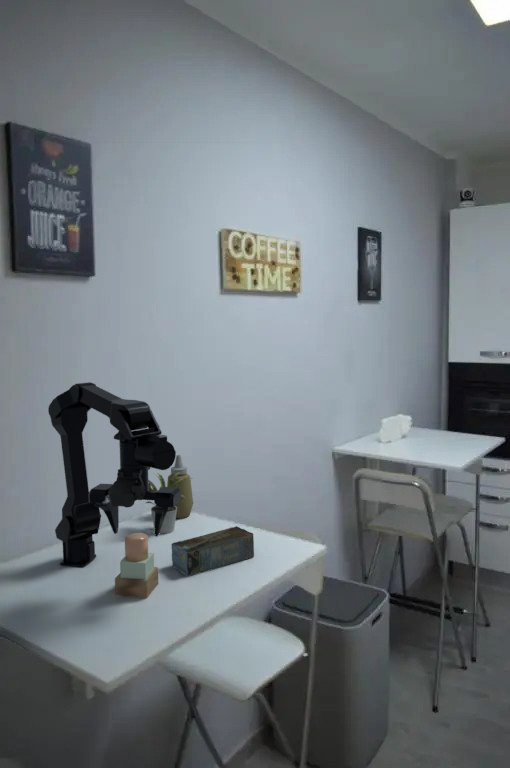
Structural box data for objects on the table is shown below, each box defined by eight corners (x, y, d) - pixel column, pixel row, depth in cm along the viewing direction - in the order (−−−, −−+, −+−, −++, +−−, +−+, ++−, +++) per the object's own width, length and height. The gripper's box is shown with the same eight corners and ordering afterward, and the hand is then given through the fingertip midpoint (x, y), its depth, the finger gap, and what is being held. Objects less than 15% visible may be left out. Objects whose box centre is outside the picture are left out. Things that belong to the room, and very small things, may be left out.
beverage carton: (170, 566, 145) (169, 539, 144) (237, 548, 156) (237, 523, 155) (187, 578, 138) (186, 549, 138) (256, 558, 150) (256, 532, 149)
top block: (120, 577, 129) (120, 561, 129) (129, 567, 135) (129, 551, 134) (145, 579, 129) (145, 563, 128) (154, 568, 134) (153, 553, 134)
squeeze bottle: (160, 515, 181) (158, 455, 179) (182, 509, 187) (181, 451, 185) (177, 522, 176) (175, 460, 174) (199, 515, 181) (198, 455, 179)
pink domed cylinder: (121, 560, 129) (120, 540, 129) (130, 552, 134) (130, 532, 134) (142, 562, 128) (142, 541, 128) (151, 554, 133) (151, 533, 133)
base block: (115, 596, 130) (114, 578, 129) (128, 582, 136) (127, 565, 136) (147, 599, 128) (146, 580, 128) (158, 584, 135) (158, 567, 135)
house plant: (196, 520, 177) (195, 464, 175) (194, 537, 163) (193, 477, 161) (145, 521, 176) (144, 465, 174) (139, 539, 162) (138, 478, 160)
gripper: (74, 469, 123) (77, 545, 125) (163, 473, 119) (165, 551, 121) (99, 457, 134) (101, 527, 136) (181, 460, 130) (182, 532, 132)
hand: (136, 534), depth 131 cm, fingers open, 9 cm apart
